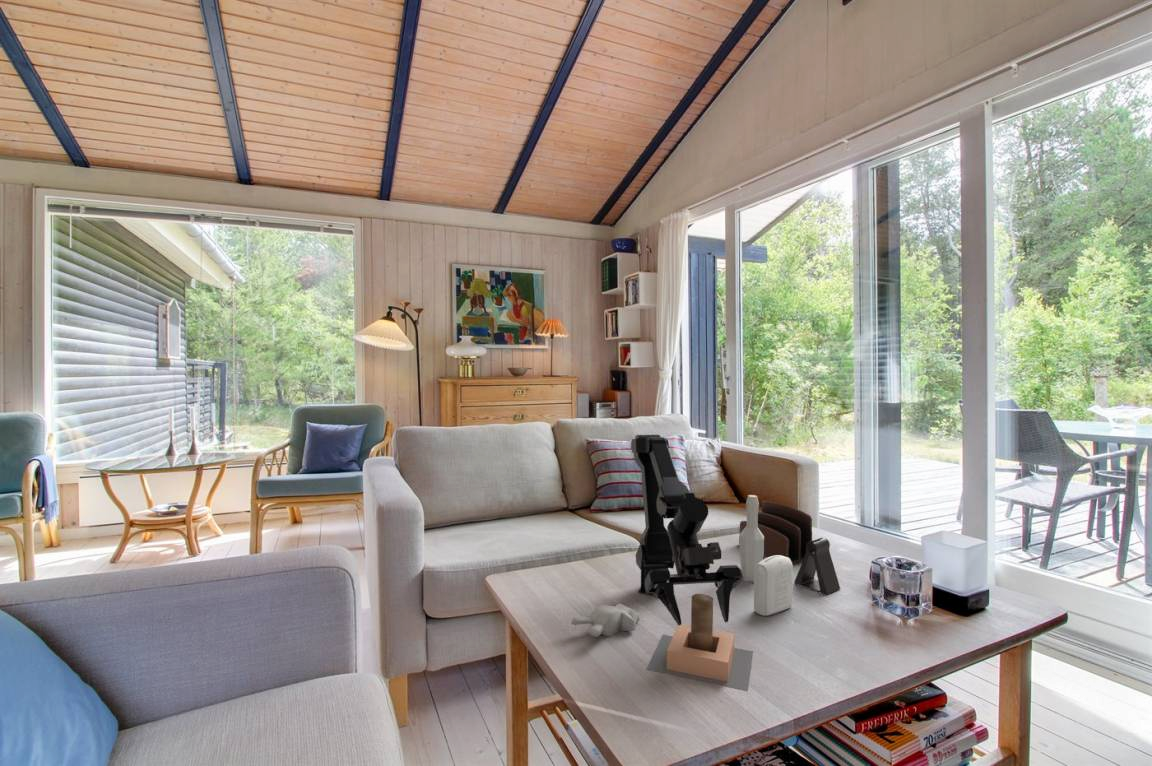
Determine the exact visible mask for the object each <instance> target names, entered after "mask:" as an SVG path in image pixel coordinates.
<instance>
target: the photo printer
mask: <svg viewBox="0 0 1152 766" xmlns="http://www.w3.org/2000/svg"><path fill="white" fill-rule="evenodd" d="M793 565H794V564H793ZM793 565H792V562H791V560H790V559H789V558H788V557H785V556H781V555H775V556H770V557H765V558H763V560H762V561H761V562H759V563H758V564H757V565H756V567H755V580H754V582H753V583H754V585H753V610H754V611H755V613H756V614H758V615H761V616H766V617H767V616H771V615H774V614H777V613H779V612H782V611H785V610H787V609H789V608H792V607H793V606H792V605H793V578H794V577H793V575H794V574H793V572H794V571H793V570H794V566H793Z"/></svg>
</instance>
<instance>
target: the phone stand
mask: <svg viewBox="0 0 1152 766" xmlns="http://www.w3.org/2000/svg"><path fill="white" fill-rule="evenodd" d="M830 547H831V543H830V541H829V540H828V538H823V537H820V538H817V539H814V540H813V539H812V541H810V542H808V543H807V544H806V554H805V556H804V559H803V561H802V563H800V564H801V565H800V567H799V570H798V571H797V574H796V577H795V579H794V581H793V582H794V583H793V584H795V585H797V584H799V585H798V586H800V585H801V586H800V587H803V586H804V587H803V588H806V587H807V588H806V589H808V588H810V589H809V590H811V589H812V590H811V591H814V590H815V591H814V592H816V591H817V593H819V592H821V593H820V594H822V593H823V595H825V594H826V595H825V596H828V595H829V594H832V593H834V592H836V591H838V590H841V585H840V583H839V579H838V576H837V573H836V569H835V566H834V562H833V559H832V556H831V552H830ZM815 576H816V577H817V579H815Z"/></svg>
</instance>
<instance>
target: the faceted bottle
mask: <svg viewBox="0 0 1152 766" xmlns="http://www.w3.org/2000/svg"><path fill="white" fill-rule="evenodd" d="M759 507H760V503H759V498H758V495H755V494H748V495H747V498H746V502H745V509H746V521H747V526H746V527H745V528H744V530H743V531H742V532H741V533H740V532H739V534H740V545H739V559H740V569H741V571H742V574H743V579H742V580H744V581H745V580H746V581H745V582H749V581H751V583H754V580H755V567H756V565H757V564H758V563H759V562H761V561H762V560H764V536H763V534H762V533H761V531H760V530H759V528H758V512H759Z"/></svg>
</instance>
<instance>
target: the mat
mask: <svg viewBox="0 0 1152 766" xmlns="http://www.w3.org/2000/svg"><path fill="white" fill-rule="evenodd" d="M672 638H673V635H668V634H662V635H661V638H660V640H659V641H658V644H657V646H656V648H655V650H654V652H653V654H652V656H651V658H650V661H649V663H648V665H647V667H646V670H647V671H652V672H656V673H660V674H666V675H670V676H674V677H678V678H679V677H680V678H684V679H690V680H694V681H697V682H698V681H699V682H704V683H708V684H712V685H713V684H714V685H718V686H720V687H721V686H722V687H726V688H727V687H728V688H732V689H737V690H741V691H745V692H748V691H749V685H750V684H749V683H750V679H751V678H750V677H751V672H752V671H751V670H752V665H753V664H752V663H753V656H754V655H753V654H754V651H753V650H747V649H742V648H737V647H734V654H733V659H732V664H731V669H730V674H729V679H728V682H726V681H722V680H717V679H712V678H707V677H702V676H698V675H693V674H688V673H683V672H678V671H674V670H669V669H667V649H668V647H669V645H670V642H671V640H672Z"/></svg>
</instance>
